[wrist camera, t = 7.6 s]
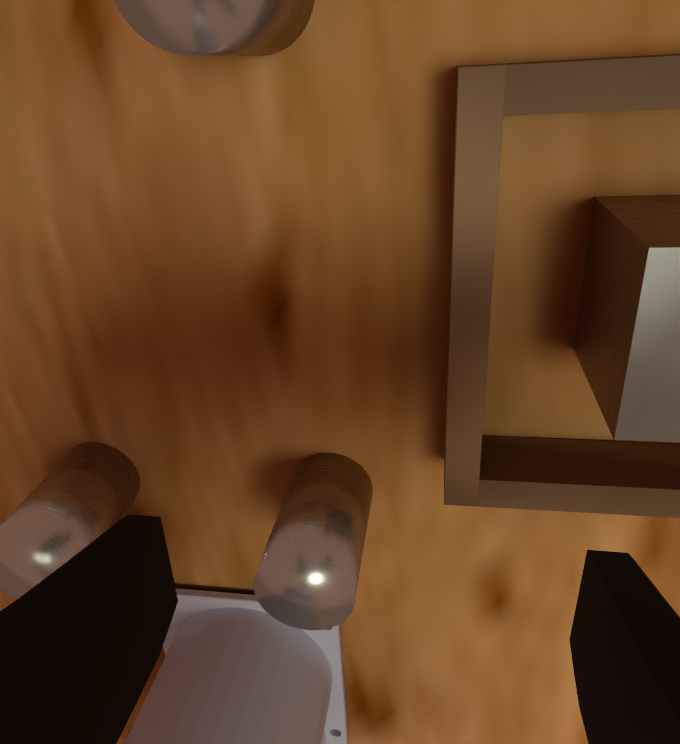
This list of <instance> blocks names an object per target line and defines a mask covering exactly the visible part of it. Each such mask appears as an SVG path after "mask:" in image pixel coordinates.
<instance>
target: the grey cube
mask: <svg viewBox="0 0 680 744" xmlns="http://www.w3.org/2000/svg"><path fill="white" fill-rule="evenodd" d="M574 351H575V353H576V355H577V357H578V360H579V362H580V364H581V367H582V369H583V371H584V373H585V376H586V378H587V380H588V382H589V385H590V387H591V389H592V391H593V394H594V396H595V398H596V400H597V403H598V405H599V407H600V409H601V412H602V414H603V416H604V419H605V421H606V423H607V425H608V428H609V430H610V432H611V434H612V437H613V439H614V440H626V441H652V442H678V443H680V195H648V196H601V197H594V203H593V211H592V218H591V226H590V233H589V240H588V248H587V255H586V263H585V270H584V277H583V285H582V292H581V300H580V307H579V314H578V322H577V329H576V337H575V344H574Z"/></svg>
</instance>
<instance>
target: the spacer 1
mask: <svg viewBox="0 0 680 744" xmlns="http://www.w3.org/2000/svg"><path fill="white" fill-rule="evenodd" d="M139 487H140V480H139V475H138V472H137V470H136V468H135V467H134V465H133V464H132V462H131V461H130V460H129V459H128V458H127V457H126V456H125V455H124V454H122V453H121V452H120V451H118V450H116V449H114V448H112V447H110V446H108V445H105V444H100V443H84V444H80V445H78V446H76V447H75V448H73V449H72V450H71V451H70V452H69V453H68V455H67V456H66V457H65V458H64V459H63V460H62V461H61V462H60V463H59V464H58V465H57V466H56V467H55V468H54V469H53V470H52V471H51V472H50V474H49V475H48V476H47V477H46V478H45V479H44V480H43V481H42V482H41V483H40V484H39V485H38V486H37V487H36V488H35V489H34V490H33V491H32V493H31V494H30V495H29V496H28V497H27V498H26V499H25V500H24V501H23V502H22V503H21V504H20V505H19V506H18V507H17V508H16V509H15V510H14V512H13V513H12V514H11V515H10V516H9V517H8V518H7V519H6V520H5V521H4V522H3V523H2V524H1V525H0V590H1V591H3V592H4V593H6V594H7V595H9V596H11V597H13V598H15V599H19V598H20V597H21V596H23V595H24V594H25V593H27V592H28V591H29V590H30V589H32V588H33V587H34V586H36V585H37V584H38V583H40V582H41V581H42V580H44V579H45V578H46V577H47V576H49V575H50V574H51V573H53V572H54V571H55V570H57V569H58V568H59V567H60V566H62V565H63V564H64V563H66V562H67V561H68V560H70V559H71V558H72V557H73V556H75V555H76V554H77V553H78V552H80V551H81V550H82V549H84V548H85V547H86V546H87V545H89V544H90V543H91V542H92V541H94V540H95V539H96V538H98V537H99V536H100V535H101V534H103V533H104V532H105V531H107V530H108V529H109V528H111V527H112V526H113V525H115V524H116V523H117V522H118V521H119V519H120V518H121V517H122V515H123V514H124V512H125V511H126V510H127V508H128V507H129V505H130V504H131V502H132V501H133V500H134V498H135V497H136V495H137V493H138V491H139Z"/></svg>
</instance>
